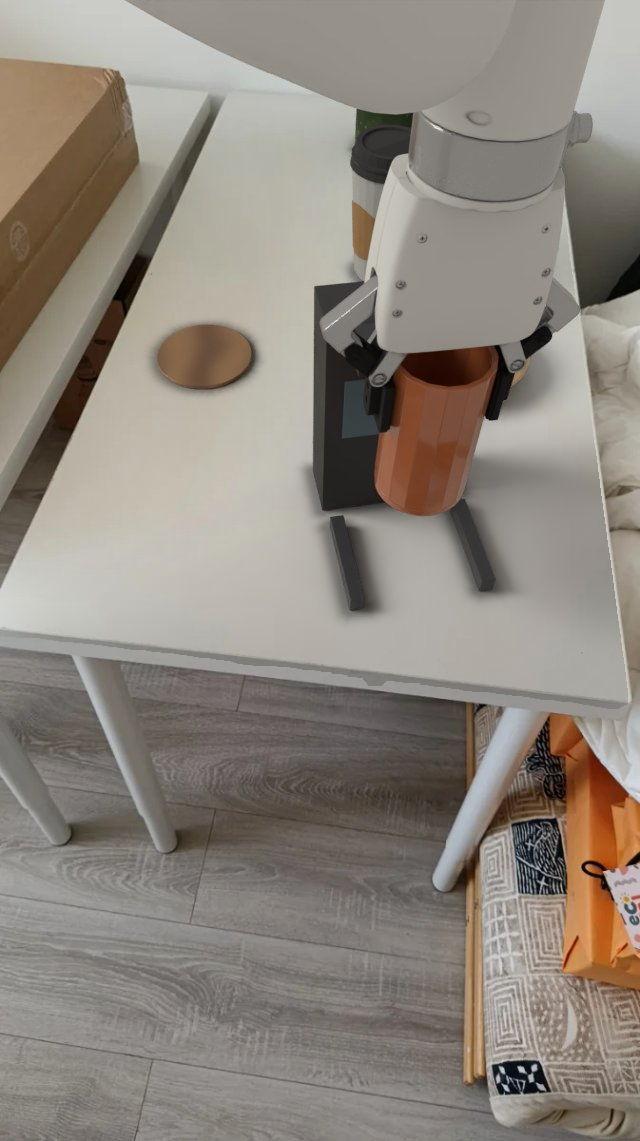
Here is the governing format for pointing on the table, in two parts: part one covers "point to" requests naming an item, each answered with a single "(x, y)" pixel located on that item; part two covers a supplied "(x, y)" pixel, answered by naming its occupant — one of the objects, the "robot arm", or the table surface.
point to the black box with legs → (358, 449)
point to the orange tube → (434, 428)
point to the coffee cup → (372, 182)
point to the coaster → (204, 356)
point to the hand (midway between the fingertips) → (433, 410)
